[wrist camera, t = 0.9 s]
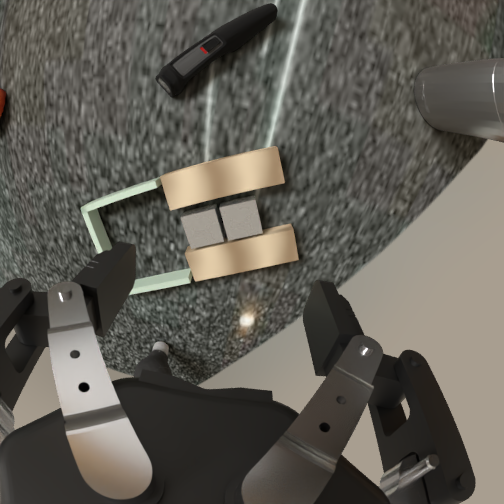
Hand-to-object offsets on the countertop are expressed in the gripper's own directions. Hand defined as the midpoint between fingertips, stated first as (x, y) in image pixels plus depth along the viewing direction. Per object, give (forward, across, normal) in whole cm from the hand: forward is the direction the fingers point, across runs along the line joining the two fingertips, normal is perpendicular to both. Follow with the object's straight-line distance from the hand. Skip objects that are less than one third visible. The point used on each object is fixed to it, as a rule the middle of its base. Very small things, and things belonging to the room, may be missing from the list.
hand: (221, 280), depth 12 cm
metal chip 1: (+21, +3, +6) cm, 22 cm away
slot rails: (+21, 0, +4) cm, 21 cm away
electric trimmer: (+22, +6, -15) cm, 27 cm away
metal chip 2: (+21, -1, +4) cm, 22 cm away
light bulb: (+21, +7, +27) cm, 35 cm away
